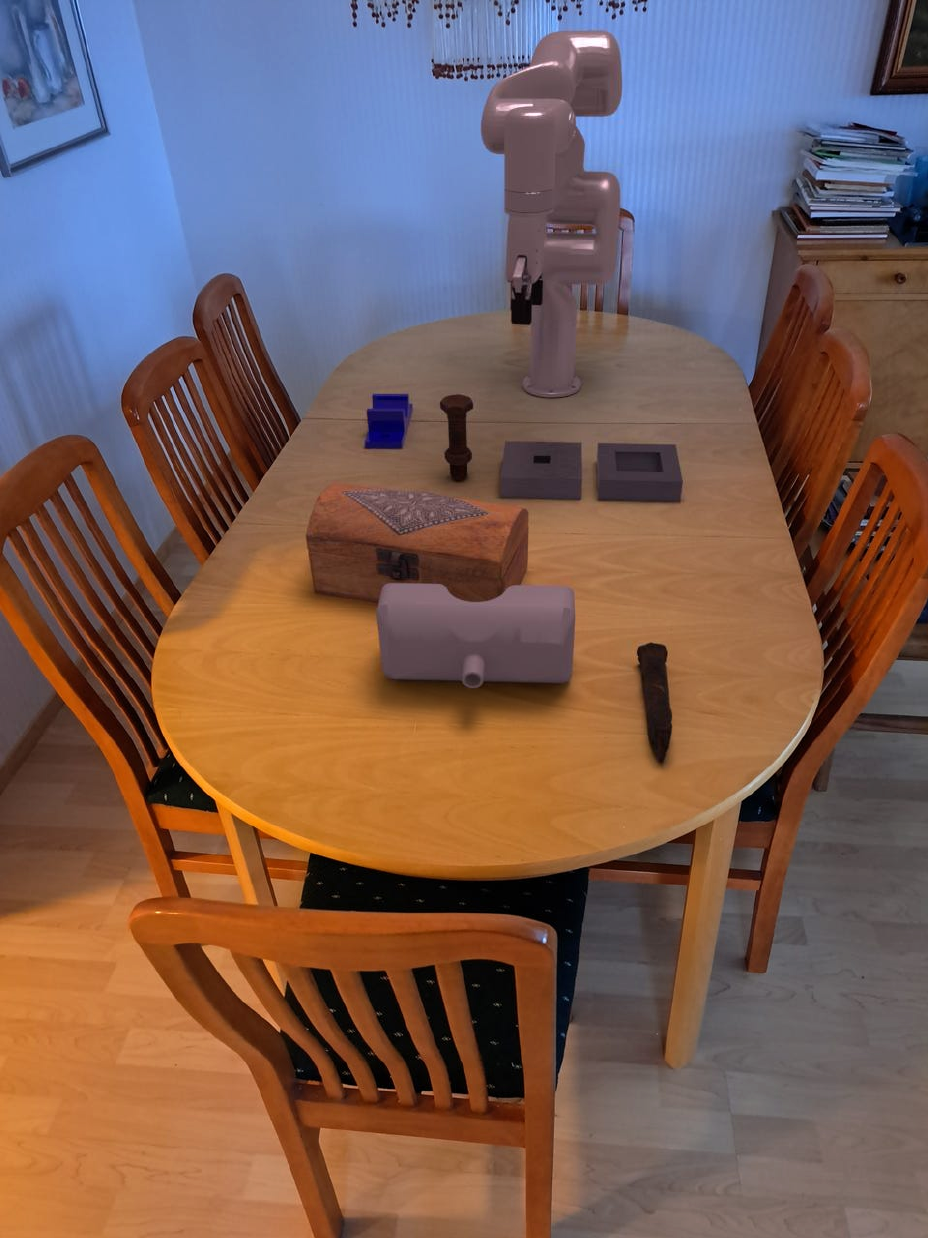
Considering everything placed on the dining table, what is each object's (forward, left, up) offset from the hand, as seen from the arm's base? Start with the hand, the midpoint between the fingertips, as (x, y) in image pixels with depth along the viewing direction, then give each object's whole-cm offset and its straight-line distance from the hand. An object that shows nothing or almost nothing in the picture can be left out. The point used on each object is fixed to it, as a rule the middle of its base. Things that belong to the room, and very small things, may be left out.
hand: (527, 313), depth 146 cm
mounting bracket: (-18, -28, -30) cm, 45 cm away
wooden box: (+35, -14, -30) cm, 48 cm away
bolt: (+2, -12, -30) cm, 32 cm away
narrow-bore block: (+2, +3, -29) cm, 30 cm away
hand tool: (+62, +20, -30) cm, 71 cm away
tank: (+56, -4, -30) cm, 64 cm away
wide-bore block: (+2, +20, -29) cm, 36 cm away
